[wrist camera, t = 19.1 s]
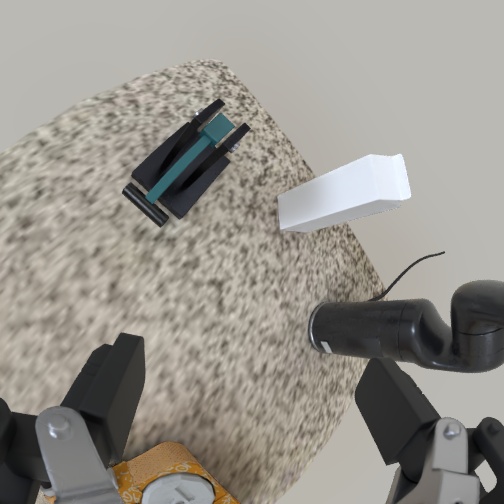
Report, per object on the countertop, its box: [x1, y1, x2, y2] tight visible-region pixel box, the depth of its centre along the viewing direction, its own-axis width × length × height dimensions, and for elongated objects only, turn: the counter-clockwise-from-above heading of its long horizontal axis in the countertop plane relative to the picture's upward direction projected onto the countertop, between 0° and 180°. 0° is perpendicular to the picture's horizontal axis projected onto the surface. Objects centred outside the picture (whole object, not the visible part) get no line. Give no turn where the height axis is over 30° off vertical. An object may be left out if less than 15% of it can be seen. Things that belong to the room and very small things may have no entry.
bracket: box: [131, 99, 251, 220], centre depth 32 cm, size 12×9×13 cm
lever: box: [122, 113, 235, 228], centre depth 27 cm, size 13×6×2 cm, turn 146°
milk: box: [277, 154, 411, 233], centre depth 38 cm, size 6×6×22 cm
